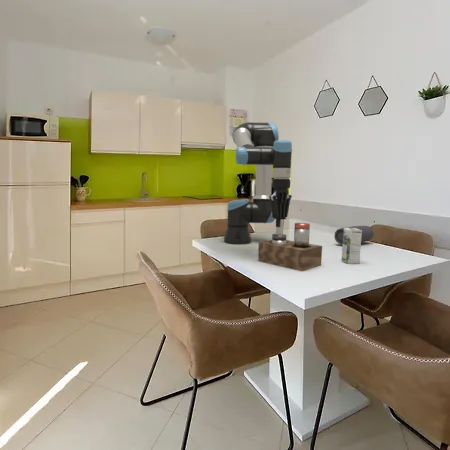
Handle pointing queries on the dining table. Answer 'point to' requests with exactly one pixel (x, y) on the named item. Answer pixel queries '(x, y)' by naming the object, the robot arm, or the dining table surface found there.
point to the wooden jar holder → (290, 255)
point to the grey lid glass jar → (278, 239)
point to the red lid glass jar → (301, 235)
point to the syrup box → (351, 245)
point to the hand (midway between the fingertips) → (279, 234)
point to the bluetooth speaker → (366, 230)
